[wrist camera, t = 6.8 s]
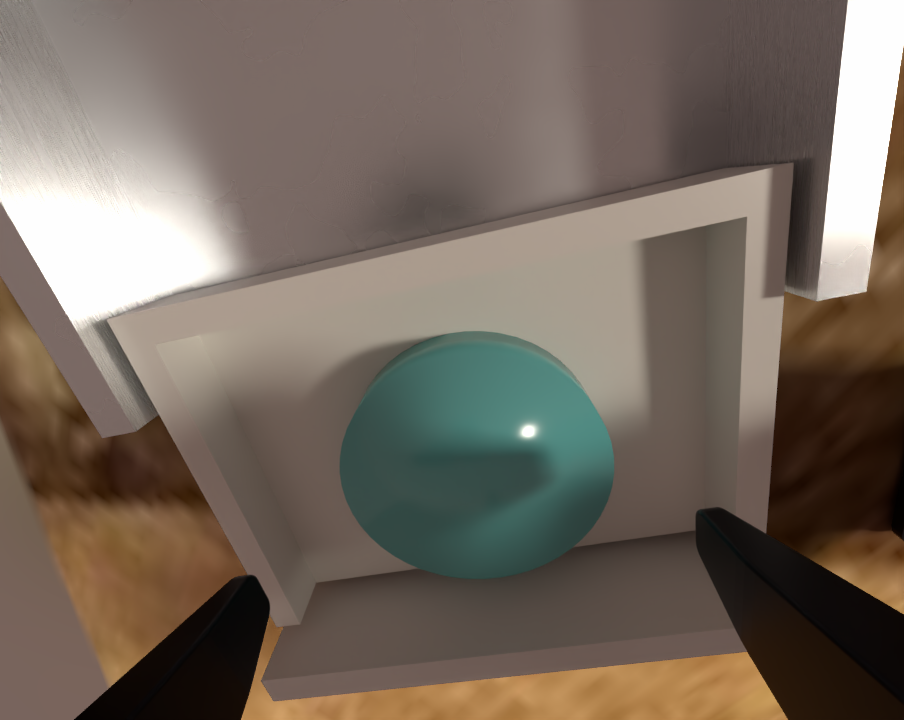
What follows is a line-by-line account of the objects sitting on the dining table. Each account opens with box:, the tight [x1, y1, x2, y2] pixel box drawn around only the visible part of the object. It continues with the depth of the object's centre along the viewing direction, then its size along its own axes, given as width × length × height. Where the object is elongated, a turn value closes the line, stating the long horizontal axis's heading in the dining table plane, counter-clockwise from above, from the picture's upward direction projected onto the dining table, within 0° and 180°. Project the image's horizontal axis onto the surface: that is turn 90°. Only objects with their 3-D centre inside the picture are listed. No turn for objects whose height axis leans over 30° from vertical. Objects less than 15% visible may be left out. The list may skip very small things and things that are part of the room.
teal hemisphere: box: [340, 331, 614, 579], centre depth 11 cm, size 7×7×2 cm
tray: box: [106, 163, 794, 701], centre depth 12 cm, size 12×15×4 cm
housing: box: [0, 0, 904, 438], centre depth 9 cm, size 12×17×4 cm
